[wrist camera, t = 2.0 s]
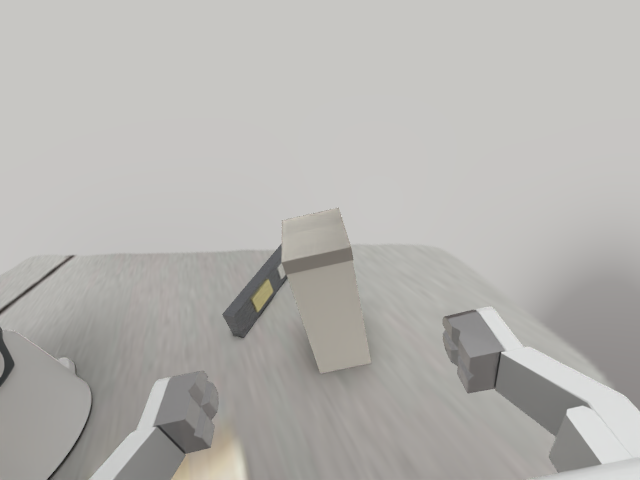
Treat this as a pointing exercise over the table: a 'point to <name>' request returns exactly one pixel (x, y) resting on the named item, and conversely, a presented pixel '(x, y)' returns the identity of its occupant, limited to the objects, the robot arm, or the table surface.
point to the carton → (325, 288)
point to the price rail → (256, 295)
